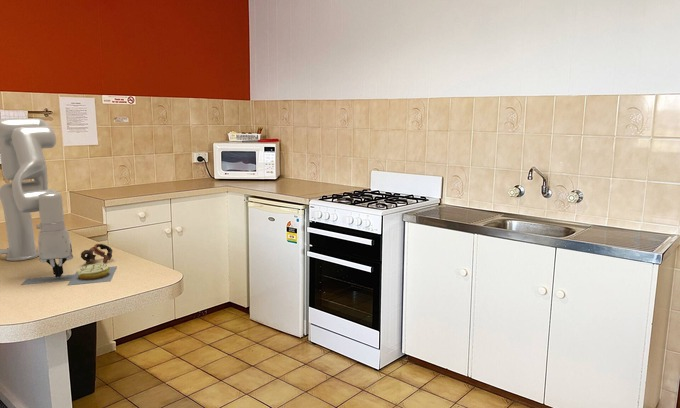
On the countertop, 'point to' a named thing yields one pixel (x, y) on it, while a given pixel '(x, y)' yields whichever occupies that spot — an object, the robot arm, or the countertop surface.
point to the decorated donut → (93, 271)
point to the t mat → (71, 278)
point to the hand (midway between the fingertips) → (58, 276)
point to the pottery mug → (98, 252)
